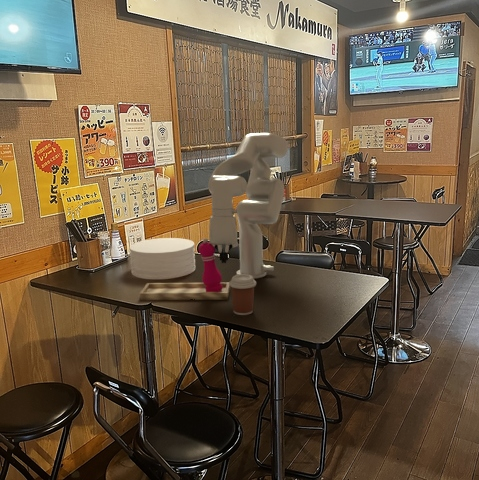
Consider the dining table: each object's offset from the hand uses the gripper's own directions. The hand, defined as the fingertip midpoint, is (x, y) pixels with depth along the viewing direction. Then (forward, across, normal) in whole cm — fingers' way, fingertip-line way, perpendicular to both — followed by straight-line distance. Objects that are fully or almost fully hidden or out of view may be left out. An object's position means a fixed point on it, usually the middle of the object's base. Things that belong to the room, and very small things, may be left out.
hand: (224, 262), depth 176 cm
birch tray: (+12, +15, 0) cm, 19 cm away
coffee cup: (+13, -7, +18) cm, 23 cm away
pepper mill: (+11, +4, 0) cm, 12 cm away
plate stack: (+12, +29, -34) cm, 46 cm away
